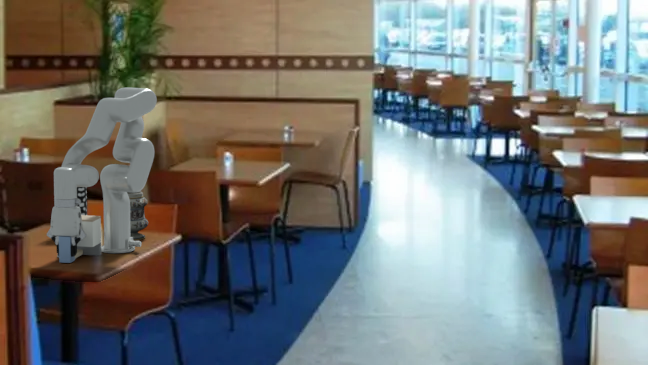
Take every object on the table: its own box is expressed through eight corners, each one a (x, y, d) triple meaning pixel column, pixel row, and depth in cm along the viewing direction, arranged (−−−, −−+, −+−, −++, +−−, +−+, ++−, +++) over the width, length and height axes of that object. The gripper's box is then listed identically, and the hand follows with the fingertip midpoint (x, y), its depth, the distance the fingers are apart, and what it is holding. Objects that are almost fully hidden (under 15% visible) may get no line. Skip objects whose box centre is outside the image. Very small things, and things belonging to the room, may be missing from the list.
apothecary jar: (127, 233, 388) (127, 188, 386) (154, 236, 384) (153, 191, 382) (110, 239, 377) (110, 193, 375) (138, 242, 373) (137, 195, 370)
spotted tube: (89, 231, 391) (88, 182, 388) (85, 235, 383) (84, 185, 380) (68, 231, 391) (67, 182, 388) (63, 235, 382) (62, 185, 380)
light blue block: (84, 254, 349) (84, 229, 347) (70, 262, 335) (69, 237, 334) (74, 253, 349) (73, 228, 348) (59, 262, 336) (58, 236, 335)
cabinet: (101, 254, 350) (101, 215, 348) (93, 259, 342) (92, 220, 340) (69, 253, 352) (68, 214, 350) (59, 258, 344) (59, 218, 342)
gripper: (93, 202, 337) (94, 254, 340) (46, 200, 339) (48, 252, 342) (85, 206, 330) (86, 259, 333) (37, 204, 332) (39, 257, 335)
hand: (66, 255), depth 337 cm, fingers closed on light blue block, 4 cm apart
